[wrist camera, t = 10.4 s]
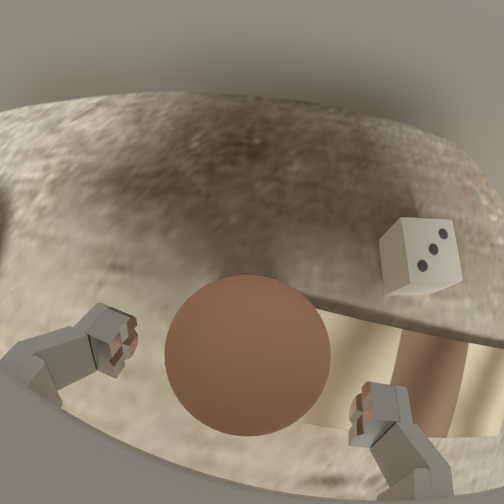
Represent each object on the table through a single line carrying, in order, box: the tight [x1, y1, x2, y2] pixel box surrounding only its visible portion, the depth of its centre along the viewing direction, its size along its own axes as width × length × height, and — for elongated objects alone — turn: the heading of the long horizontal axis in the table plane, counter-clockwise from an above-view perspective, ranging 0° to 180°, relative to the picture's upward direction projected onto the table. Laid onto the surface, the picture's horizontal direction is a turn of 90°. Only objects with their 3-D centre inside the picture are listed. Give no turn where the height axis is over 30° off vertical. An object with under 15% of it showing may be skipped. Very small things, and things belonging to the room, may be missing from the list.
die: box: [378, 217, 463, 296], centre depth 18 cm, size 4×4×4 cm
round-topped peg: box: [165, 275, 331, 436], centre depth 12 cm, size 5×5×13 cm
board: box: [297, 309, 504, 438], centre depth 17 cm, size 24×7×1 cm, turn 74°
